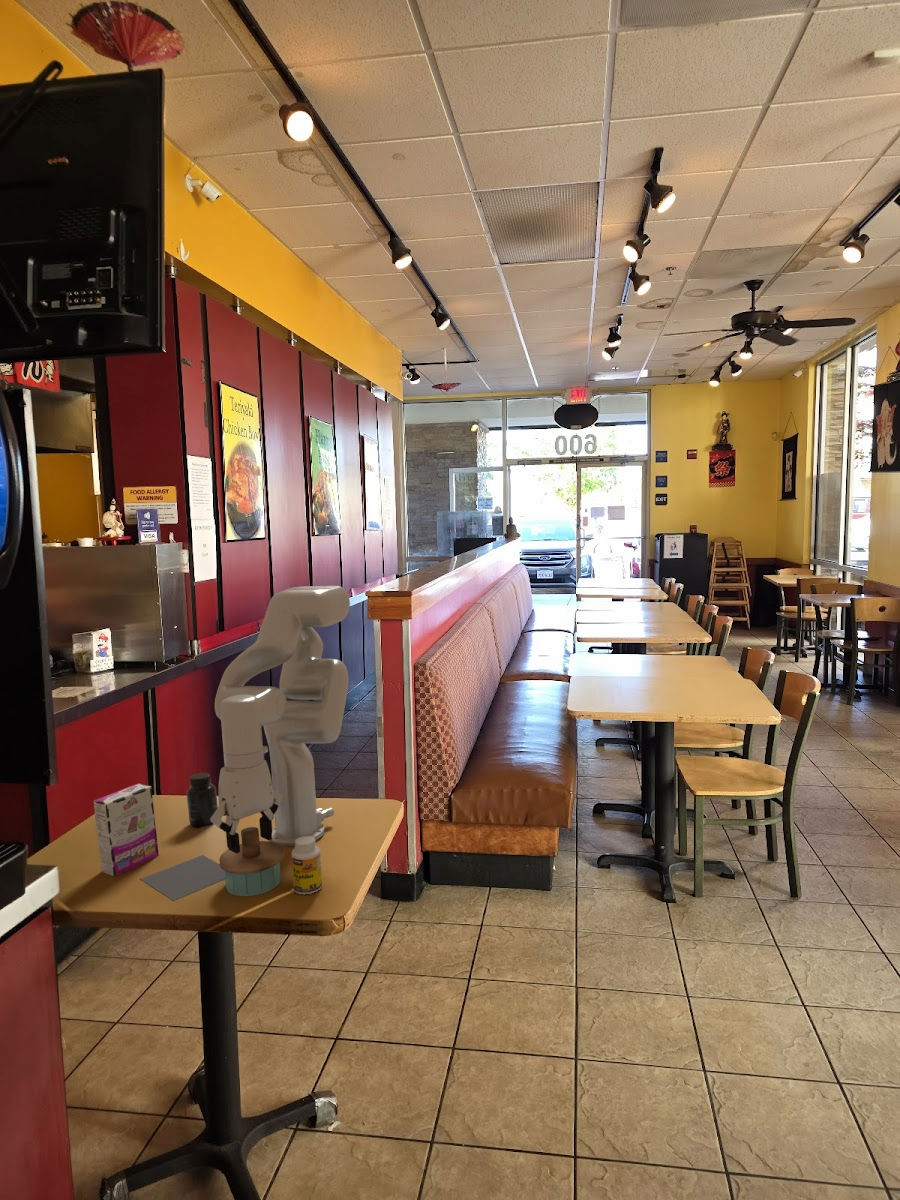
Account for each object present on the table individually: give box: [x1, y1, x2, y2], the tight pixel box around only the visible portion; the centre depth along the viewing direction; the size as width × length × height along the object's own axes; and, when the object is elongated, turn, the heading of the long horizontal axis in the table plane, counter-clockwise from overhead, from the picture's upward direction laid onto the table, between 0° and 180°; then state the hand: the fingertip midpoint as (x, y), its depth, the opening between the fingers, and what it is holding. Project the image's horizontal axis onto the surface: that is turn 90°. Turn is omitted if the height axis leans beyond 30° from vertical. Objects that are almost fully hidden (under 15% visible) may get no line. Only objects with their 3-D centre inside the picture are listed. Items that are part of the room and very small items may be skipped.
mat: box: [140, 854, 225, 902], centre depth 160 cm, size 14×14×1 cm
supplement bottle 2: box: [291, 836, 323, 896], centre depth 153 cm, size 6×6×10 cm
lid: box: [219, 826, 285, 874], centre depth 155 cm, size 12×12×6 cm
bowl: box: [224, 861, 282, 897], centre depth 156 cm, size 11×11×6 cm
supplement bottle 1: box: [186, 772, 219, 829], centre depth 188 cm, size 7×7×12 cm
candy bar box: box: [93, 783, 160, 877], centre depth 166 cm, size 11×5×16 cm, turn 148°
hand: (250, 844), depth 155 cm, fingers open, 6 cm apart
